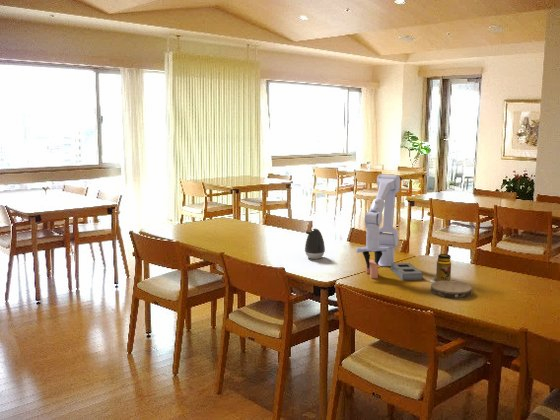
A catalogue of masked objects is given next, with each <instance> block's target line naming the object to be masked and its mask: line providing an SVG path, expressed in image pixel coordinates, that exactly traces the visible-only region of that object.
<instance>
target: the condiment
mask: <svg viewBox="0 0 560 420" xmlns="http://www.w3.org/2000/svg"><path fill="white" fill-rule="evenodd" d="M451 256H452V255H450V254H448V253H440V254H438V255H437V260H436V271H435V272H436V276H435V277H432V279H430V280H429V282H430V283H434V282H437V281H453V279H451V273H452V272H451V271H452V261H451V259H452V257H451Z"/></svg>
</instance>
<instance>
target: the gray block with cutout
mask: <svg viewBox="0 0 560 420" xmlns="http://www.w3.org/2000/svg"><path fill="white" fill-rule="evenodd" d="M390 270H391V271H392V272H393V273H394V275H396V276H397V277H398V278H399V279H400V280H402V281H416V280H417V281H418V280H419V281H421V280H423V272H422V271H421V270H419V269H418V268H417V267H416V266H414V265H413V264H412V263H411V262H394V263H391V266H390Z"/></svg>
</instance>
